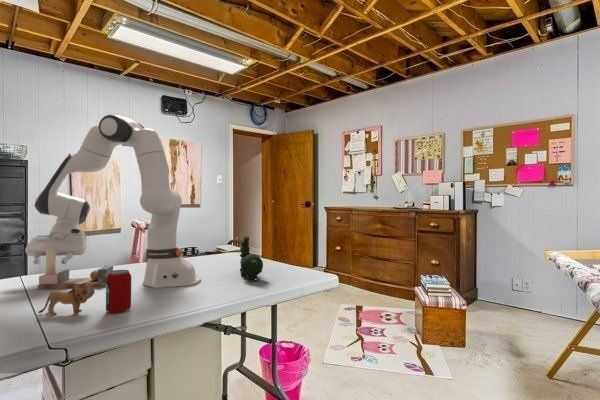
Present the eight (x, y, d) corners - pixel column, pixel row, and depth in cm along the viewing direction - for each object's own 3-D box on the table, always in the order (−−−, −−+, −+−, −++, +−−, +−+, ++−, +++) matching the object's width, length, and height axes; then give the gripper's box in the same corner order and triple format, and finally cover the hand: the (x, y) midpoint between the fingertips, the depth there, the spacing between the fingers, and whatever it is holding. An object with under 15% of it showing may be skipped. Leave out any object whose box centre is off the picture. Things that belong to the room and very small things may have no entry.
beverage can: (112, 307, 104) (112, 269, 104) (134, 307, 105) (135, 269, 105) (101, 314, 97) (101, 273, 98) (125, 314, 98) (125, 273, 98)
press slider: (69, 278, 135) (70, 246, 135) (59, 283, 127) (60, 249, 127) (49, 279, 133) (50, 247, 133) (38, 284, 125) (39, 249, 125)
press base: (116, 280, 139) (116, 265, 139) (108, 286, 130) (108, 269, 130) (51, 282, 134) (51, 266, 134) (37, 289, 124) (37, 271, 124)
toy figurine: (234, 276, 156) (244, 284, 133) (234, 236, 158) (244, 236, 135) (254, 275, 160) (267, 282, 136) (254, 235, 161) (266, 236, 138)
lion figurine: (97, 308, 103) (97, 279, 103) (90, 314, 98) (91, 283, 98) (42, 312, 100) (43, 281, 100) (32, 318, 94) (33, 286, 95)
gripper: (30, 230, 134) (15, 259, 125) (87, 230, 139) (76, 257, 129) (36, 240, 139) (22, 268, 129) (91, 239, 143) (81, 267, 133)
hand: (49, 263), depth 129 cm, fingers open, 8 cm apart
